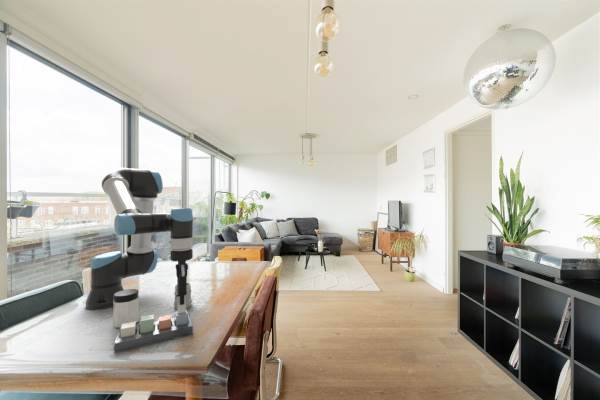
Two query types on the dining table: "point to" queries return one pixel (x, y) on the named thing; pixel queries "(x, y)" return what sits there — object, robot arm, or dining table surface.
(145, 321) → the key sage
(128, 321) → the jar
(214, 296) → the dining table surface
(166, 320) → the key coral
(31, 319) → the dining table surface
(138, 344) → the key panel
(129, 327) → the key ivory
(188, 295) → the mug
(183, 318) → the key slate
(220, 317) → the dining table surface
